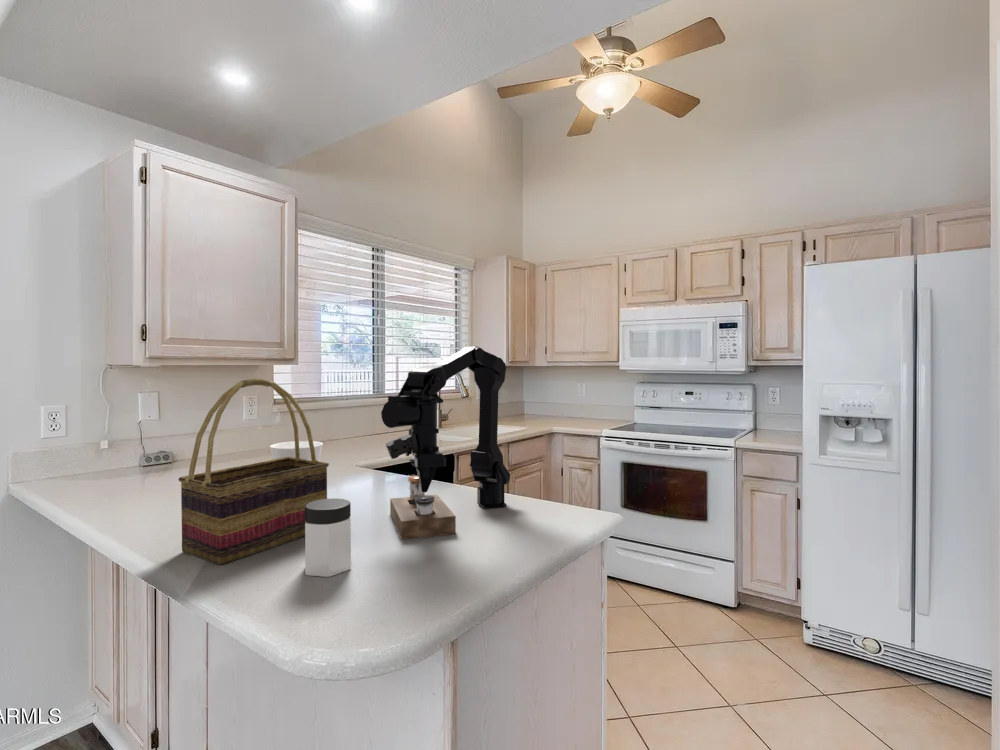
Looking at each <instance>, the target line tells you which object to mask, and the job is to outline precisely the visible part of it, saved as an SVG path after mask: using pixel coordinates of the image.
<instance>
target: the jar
mask: <svg viewBox="0 0 1000 750" xmlns="http://www.w3.org/2000/svg"><path fill="white" fill-rule="evenodd" d="M351 514H352V513H351V501H350V500H348V499H345V498H327V499H322V500H316V501H313V502H310V503H308V504H306V505H305V510H304V516H305V536H304V546H305V547H304V549H305V551H304V552H305V553H304V555H305V556H304V559H305V560H304V561H305V562H304V565H305V567H304V569H305V571H304V573H305V575H306V576H311V577H321V578H322V577H324V578H329V577H333V576H335V575H338V574H341V573H344V572H347V571H349V570H351V569H352V546H351V545H352V544H351V543H352V539H351V537H352V535H351V534H352V533H351V531H352V530H351V529H352V528H351V527H352V523H351V521H352V520H351V516H352V515H351Z"/></svg>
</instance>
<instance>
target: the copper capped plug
mask: <svg viewBox="0 0 1000 750" xmlns="http://www.w3.org/2000/svg"><path fill="white" fill-rule="evenodd" d="M407 481H408V483H409V497H410V504H417V503H416V502H415V497H417V496H422V495H426V494H425V493H426V492H422V491H421V486H420V482H419V478H418V474H417V475H416V474H415V475H410V476H408V479H407Z"/></svg>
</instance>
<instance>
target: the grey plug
mask: <svg viewBox="0 0 1000 750" xmlns="http://www.w3.org/2000/svg"><path fill="white" fill-rule="evenodd" d="M430 495H431V494H430ZM430 495H429V494H425V495H422V496H417V497H415V502H416V503H417V516H423V515H433V502H434V496H430Z"/></svg>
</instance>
